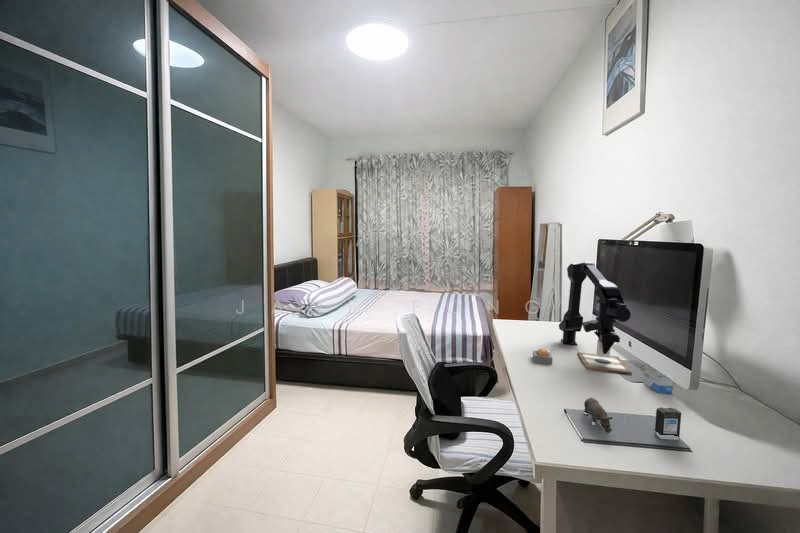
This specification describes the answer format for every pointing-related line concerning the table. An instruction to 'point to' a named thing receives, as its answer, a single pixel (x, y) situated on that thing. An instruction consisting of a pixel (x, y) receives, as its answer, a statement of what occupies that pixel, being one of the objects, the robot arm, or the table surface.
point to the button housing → (542, 358)
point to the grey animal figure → (597, 413)
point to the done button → (542, 352)
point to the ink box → (657, 380)
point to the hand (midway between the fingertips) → (603, 352)
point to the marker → (601, 350)
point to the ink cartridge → (668, 421)
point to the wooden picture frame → (603, 363)
